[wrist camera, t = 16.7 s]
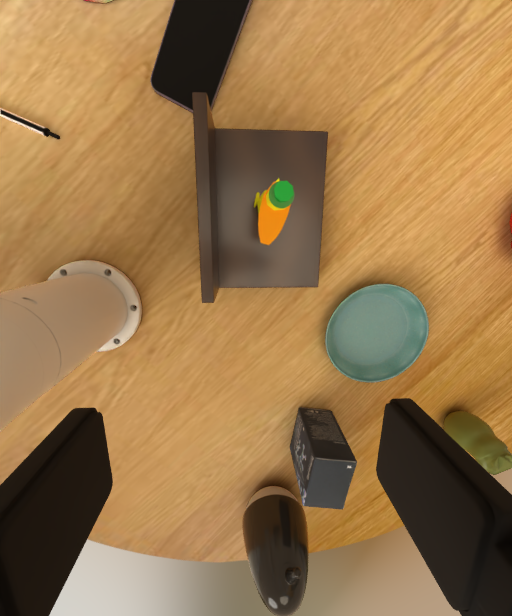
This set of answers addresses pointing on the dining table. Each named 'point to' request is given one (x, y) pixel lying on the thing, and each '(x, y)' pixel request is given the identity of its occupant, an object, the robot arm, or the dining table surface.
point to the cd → (101, 0)
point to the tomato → (511, 227)
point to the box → (321, 459)
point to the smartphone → (197, 48)
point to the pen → (26, 123)
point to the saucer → (377, 333)
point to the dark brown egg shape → (277, 548)
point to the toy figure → (273, 209)
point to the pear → (478, 441)
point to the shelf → (240, 205)
